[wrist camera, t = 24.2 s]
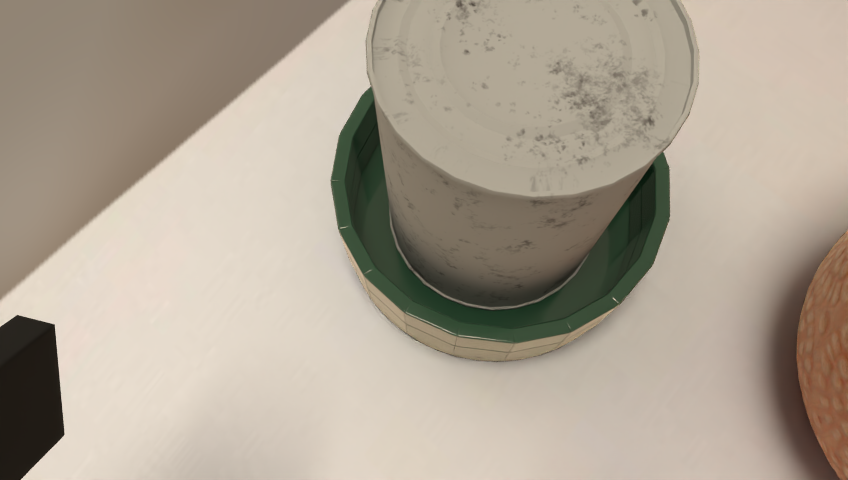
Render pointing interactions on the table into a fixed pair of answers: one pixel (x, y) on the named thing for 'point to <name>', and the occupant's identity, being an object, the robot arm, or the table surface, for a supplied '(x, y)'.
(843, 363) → the planter
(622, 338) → the table surface
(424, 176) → the dirty tin can
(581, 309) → the green bowl
